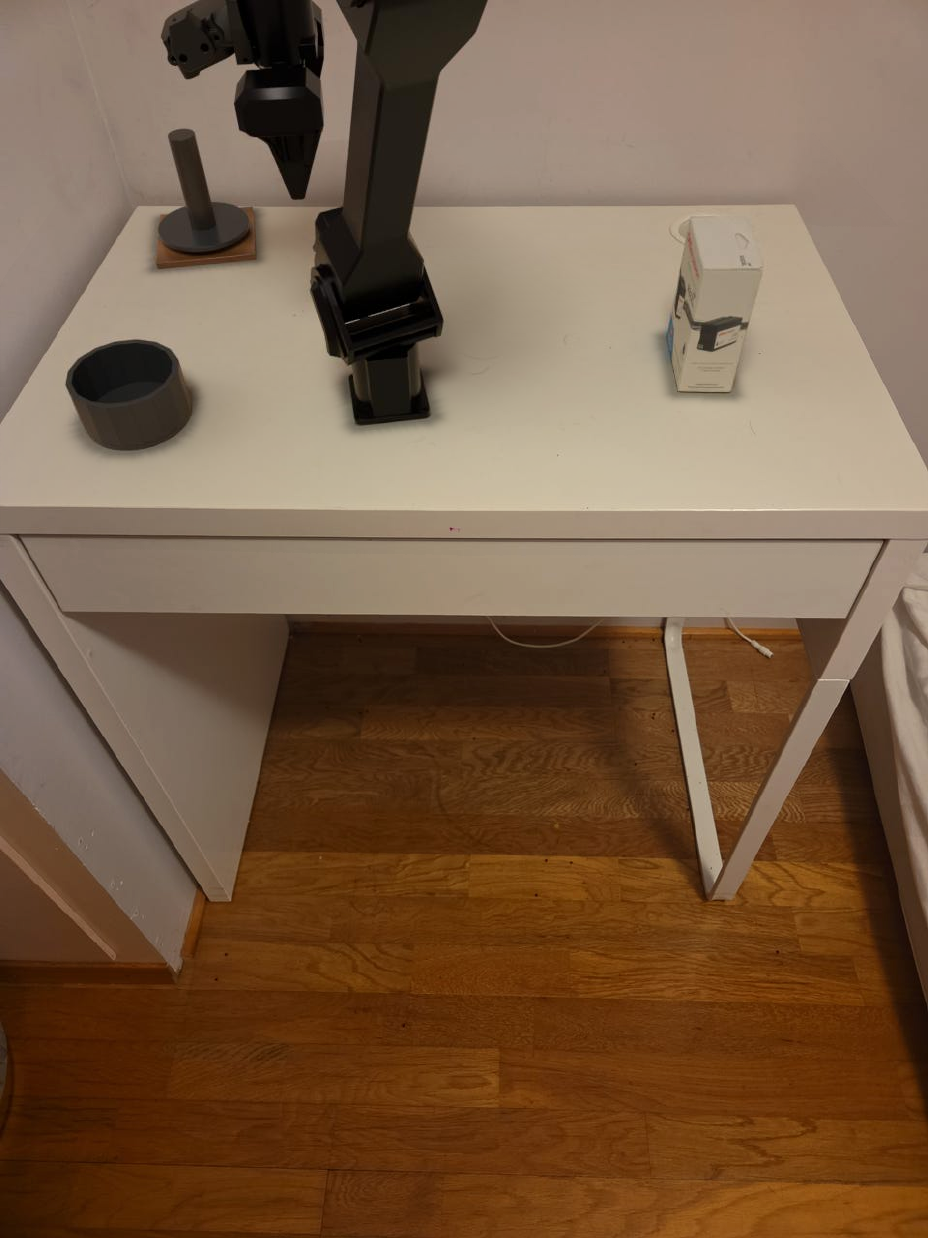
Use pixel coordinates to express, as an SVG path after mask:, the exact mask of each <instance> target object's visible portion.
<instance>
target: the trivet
mask: <svg viewBox="0 0 928 1238" xmlns="http://www.w3.org/2000/svg"><path fill="white" fill-rule="evenodd" d="M240 208H241V209H242V210H243V211H245V213H246V214H247V215H248V218H249V222H250V226H249V230H248V232H247V233H246V234H245V236H244V237H243V238H241V239H240V240H239V241H237V242H235V243H234V244H232V245H229V246H227V247H224V248H221V249H218V250H213V251H207V252H185V251H180V250H176V249H173V248H171V247H169V246H167V245H165V244H164V243H163V242H162V240H161V239H160V237H159V234H158V237H157V245H156V247H157V249H156V258H155V265H156V268H157V269H158V270H159V269H166V268H167V269H168V268H169V269H170V268H178V267H188V266H198V265H199V266H201V265H209V264H211V265H212V264H219V263H220V264H221V263H231V262H239V261H240V262H241V261H251V260H256V259H257V255H256V254H257V253H256V230H255V229H256V227H255V210H254V206H243V207H242V206H241V207H240ZM168 214H169V213H165V214H160V215H159V223H160V222H161V220H162V219H163V218H164V217H165V216H167V215H168Z"/></svg>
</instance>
